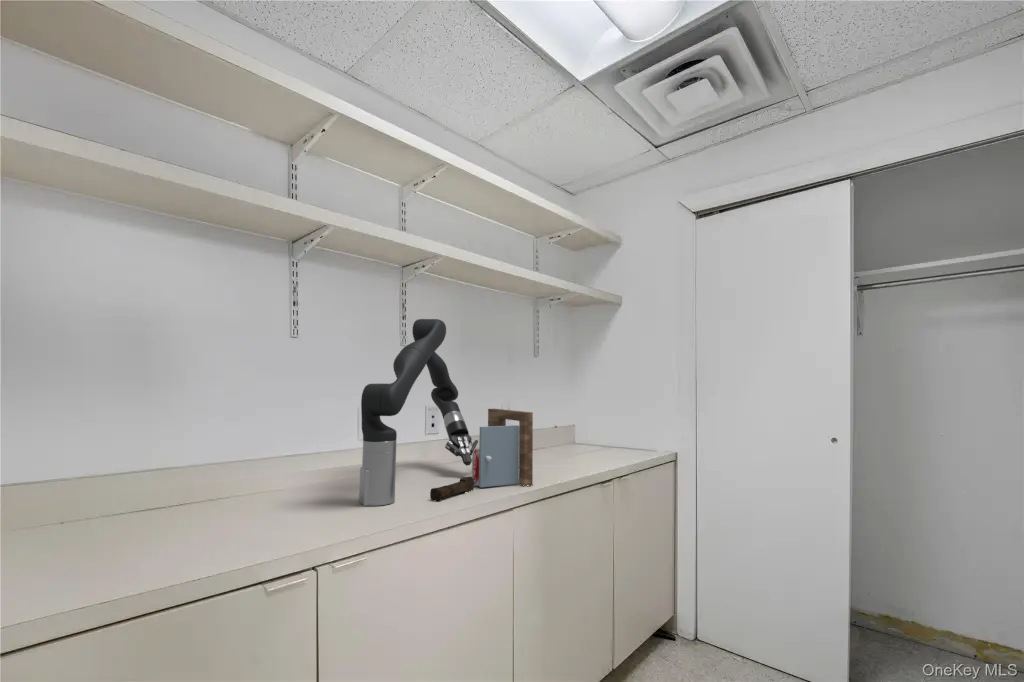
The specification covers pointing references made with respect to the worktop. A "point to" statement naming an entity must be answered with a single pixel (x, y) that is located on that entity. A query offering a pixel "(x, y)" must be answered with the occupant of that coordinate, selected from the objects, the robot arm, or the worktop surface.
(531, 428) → the door frame
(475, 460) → the soda can
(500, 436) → the door
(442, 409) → the robot arm
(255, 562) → the worktop surface
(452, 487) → the wooden log
